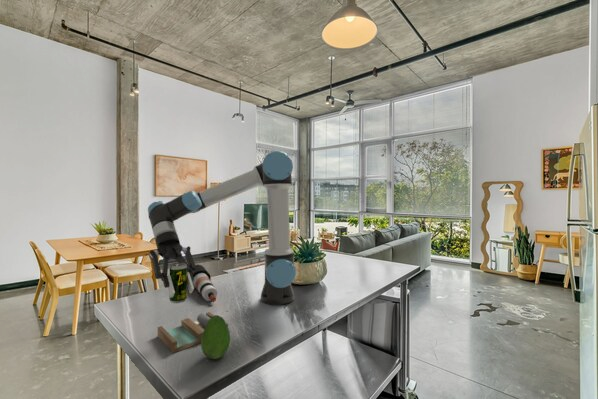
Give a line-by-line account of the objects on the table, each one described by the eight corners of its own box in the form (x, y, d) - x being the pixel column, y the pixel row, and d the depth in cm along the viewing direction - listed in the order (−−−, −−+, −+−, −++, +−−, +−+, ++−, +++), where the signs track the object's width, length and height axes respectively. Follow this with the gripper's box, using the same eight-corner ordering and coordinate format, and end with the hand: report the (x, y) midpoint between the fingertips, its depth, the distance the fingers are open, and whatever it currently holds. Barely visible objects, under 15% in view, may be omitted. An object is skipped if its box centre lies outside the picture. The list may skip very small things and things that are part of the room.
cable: (208, 315, 118) (197, 297, 115) (191, 286, 146) (182, 271, 143) (229, 301, 123) (219, 283, 119) (208, 275, 151) (200, 260, 148)
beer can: (165, 302, 90) (165, 265, 90) (178, 296, 95) (178, 262, 95) (178, 304, 88) (178, 267, 88) (190, 299, 93) (190, 263, 93)
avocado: (217, 368, 74) (217, 323, 74) (195, 361, 77) (195, 318, 77) (235, 353, 81) (235, 312, 81) (214, 347, 84) (214, 308, 84)
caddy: (209, 319, 103) (209, 311, 103) (227, 332, 93) (227, 323, 93) (157, 336, 91) (157, 327, 91) (172, 353, 81) (173, 342, 81)
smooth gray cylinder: (196, 323, 97) (198, 313, 98) (204, 322, 100) (206, 313, 100) (207, 331, 91) (209, 321, 91) (216, 330, 93) (218, 321, 94)
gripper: (188, 240, 109) (206, 292, 97) (135, 245, 96) (148, 306, 84) (194, 228, 105) (213, 280, 93) (139, 232, 92) (153, 293, 80)
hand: (182, 292), depth 88 cm, fingers closed on beer can, 5 cm apart
